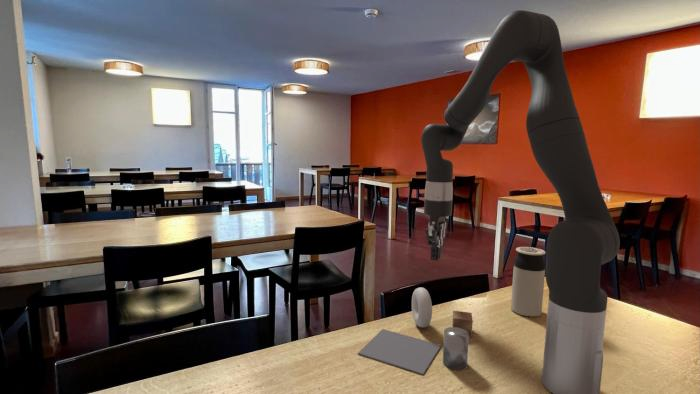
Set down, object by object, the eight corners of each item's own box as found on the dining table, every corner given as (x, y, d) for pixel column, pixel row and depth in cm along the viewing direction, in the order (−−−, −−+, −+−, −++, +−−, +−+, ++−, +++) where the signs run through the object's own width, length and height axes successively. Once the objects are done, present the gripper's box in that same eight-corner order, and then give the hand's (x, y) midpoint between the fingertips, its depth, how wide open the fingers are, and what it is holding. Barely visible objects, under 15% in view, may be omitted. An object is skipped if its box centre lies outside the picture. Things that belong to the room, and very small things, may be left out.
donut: (433, 334, 91) (434, 295, 90) (419, 335, 91) (421, 296, 89) (421, 316, 101) (423, 281, 100) (409, 317, 100) (410, 281, 99)
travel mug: (512, 315, 103) (517, 252, 100) (509, 304, 110) (513, 245, 108) (544, 319, 100) (549, 255, 98) (538, 307, 108) (543, 247, 106)
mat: (441, 346, 86) (441, 345, 86) (423, 375, 74) (423, 373, 74) (382, 330, 93) (382, 328, 93) (357, 354, 82) (357, 352, 82)
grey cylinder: (469, 361, 80) (471, 330, 79) (464, 373, 75) (465, 341, 74) (446, 354, 82) (447, 325, 81) (439, 366, 78) (441, 334, 77)
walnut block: (470, 329, 94) (471, 312, 94) (471, 338, 90) (472, 320, 89) (452, 327, 95) (453, 310, 95) (452, 335, 91) (453, 318, 90)
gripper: (445, 201, 94) (442, 267, 96) (458, 196, 105) (455, 255, 107) (416, 199, 97) (414, 263, 99) (432, 194, 109) (430, 251, 111)
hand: (435, 258), depth 103 cm, fingers closed
